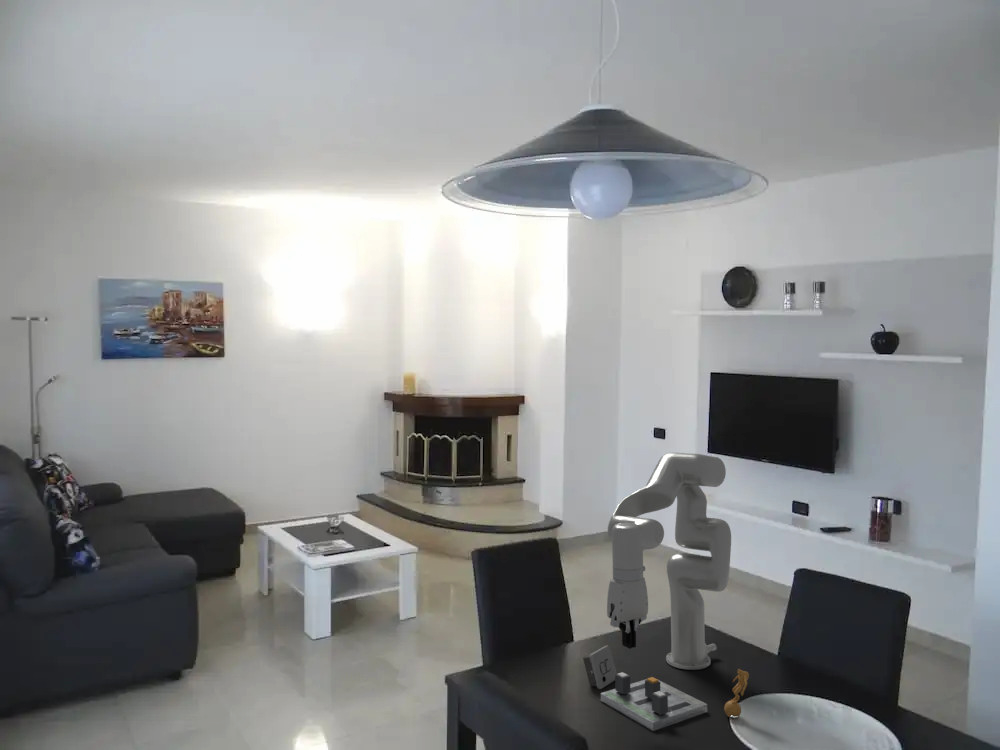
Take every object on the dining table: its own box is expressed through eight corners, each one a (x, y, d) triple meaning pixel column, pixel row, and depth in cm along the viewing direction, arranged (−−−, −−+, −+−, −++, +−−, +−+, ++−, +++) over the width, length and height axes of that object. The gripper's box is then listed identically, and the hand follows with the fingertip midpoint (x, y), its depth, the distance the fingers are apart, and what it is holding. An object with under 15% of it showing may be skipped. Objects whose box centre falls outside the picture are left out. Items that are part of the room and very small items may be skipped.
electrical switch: (600, 690, 214) (596, 656, 214) (584, 688, 217) (580, 653, 218) (618, 679, 221) (614, 645, 222) (602, 676, 225) (598, 643, 225)
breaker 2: (659, 707, 198) (659, 690, 198) (667, 712, 195) (667, 694, 195) (651, 710, 196) (651, 692, 196) (660, 714, 194) (660, 696, 194)
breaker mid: (652, 693, 206) (652, 676, 206) (660, 697, 203) (660, 680, 203) (645, 696, 205) (644, 678, 204) (653, 700, 202) (652, 682, 202)
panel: (652, 684, 217) (652, 676, 217) (707, 712, 200) (707, 703, 200) (600, 700, 208) (600, 692, 208) (653, 731, 191) (652, 722, 191)
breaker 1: (622, 687, 210) (622, 671, 210) (630, 691, 207) (630, 675, 207) (615, 690, 208) (615, 673, 208) (622, 694, 206) (622, 677, 206)
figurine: (720, 709, 201) (720, 662, 201) (745, 709, 201) (744, 662, 201) (728, 724, 193) (727, 675, 193) (753, 725, 193) (753, 676, 192)
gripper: (640, 565, 206) (642, 636, 207) (594, 575, 198) (596, 648, 199) (660, 572, 200) (662, 644, 200) (613, 582, 192) (615, 657, 192)
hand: (629, 646), depth 200 cm, fingers closed
